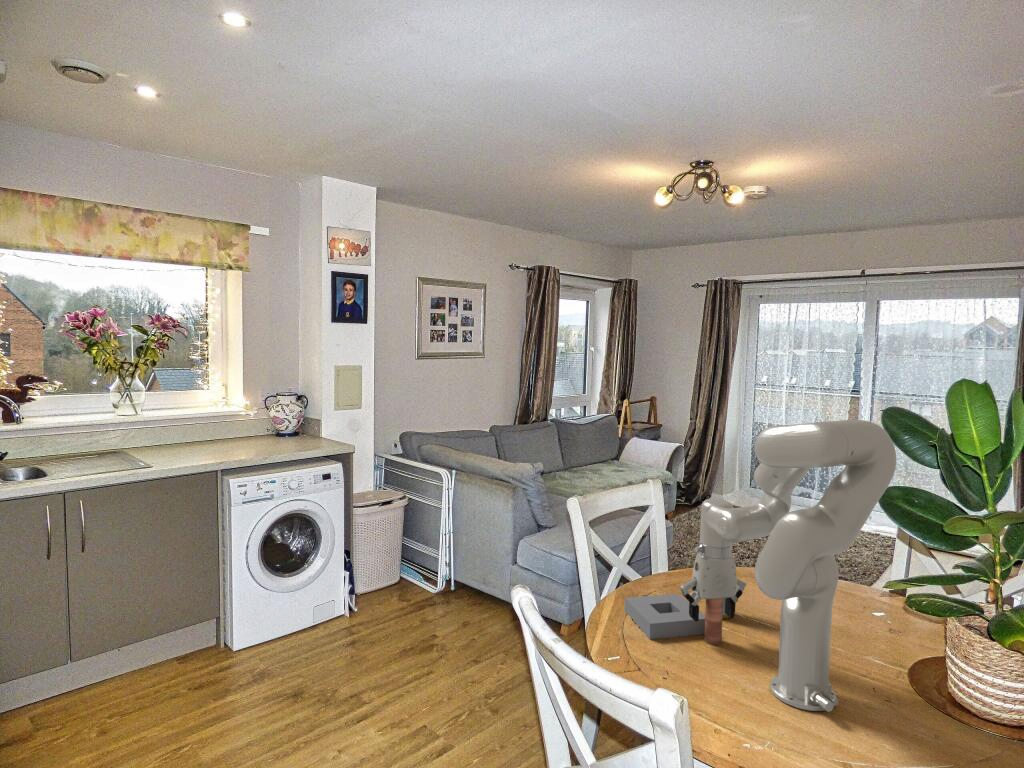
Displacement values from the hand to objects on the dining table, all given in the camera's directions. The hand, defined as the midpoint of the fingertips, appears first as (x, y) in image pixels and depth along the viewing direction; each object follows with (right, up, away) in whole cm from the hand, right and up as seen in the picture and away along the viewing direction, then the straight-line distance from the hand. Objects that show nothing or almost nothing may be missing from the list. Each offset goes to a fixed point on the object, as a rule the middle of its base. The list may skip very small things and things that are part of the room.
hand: (711, 617), depth 152 cm
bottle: (+7, -5, +16) cm, 18 cm away
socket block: (-9, -5, +10) cm, 14 cm away
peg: (0, -6, 0) cm, 6 cm away
